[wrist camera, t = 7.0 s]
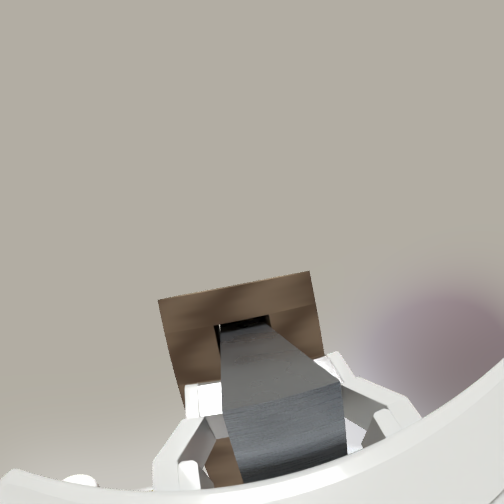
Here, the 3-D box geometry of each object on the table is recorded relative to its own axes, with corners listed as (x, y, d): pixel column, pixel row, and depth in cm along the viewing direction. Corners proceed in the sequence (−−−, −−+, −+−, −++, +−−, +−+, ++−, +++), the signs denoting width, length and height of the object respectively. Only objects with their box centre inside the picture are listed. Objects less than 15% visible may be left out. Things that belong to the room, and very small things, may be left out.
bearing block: (233, 574, 12) (118, 306, 15) (226, 503, 26) (164, 297, 28) (365, 541, 14) (348, 262, 16) (325, 480, 27) (292, 273, 30)
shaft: (246, 492, 6) (221, 411, 6) (225, 339, 30) (220, 313, 30) (347, 463, 6) (340, 380, 6) (252, 334, 30) (247, 308, 30)
